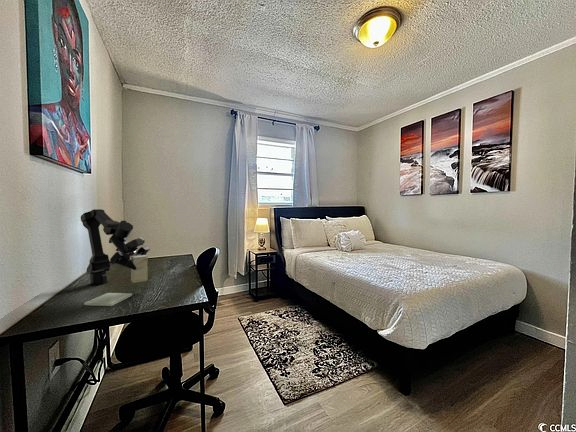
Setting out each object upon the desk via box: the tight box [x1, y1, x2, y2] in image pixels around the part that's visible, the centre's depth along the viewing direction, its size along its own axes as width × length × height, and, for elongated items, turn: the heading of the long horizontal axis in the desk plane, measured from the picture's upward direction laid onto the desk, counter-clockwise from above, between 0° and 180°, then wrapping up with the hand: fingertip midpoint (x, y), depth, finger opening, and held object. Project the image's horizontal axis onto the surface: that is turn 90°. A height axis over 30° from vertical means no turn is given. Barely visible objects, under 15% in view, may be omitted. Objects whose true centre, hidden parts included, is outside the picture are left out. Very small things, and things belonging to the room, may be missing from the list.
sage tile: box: [83, 292, 133, 307], centre depth 105 cm, size 12×12×1 cm
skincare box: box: [130, 254, 149, 284], centre depth 115 cm, size 6×4×12 cm
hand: (141, 267), depth 115 cm, fingers closed on skincare box, 7 cm apart
